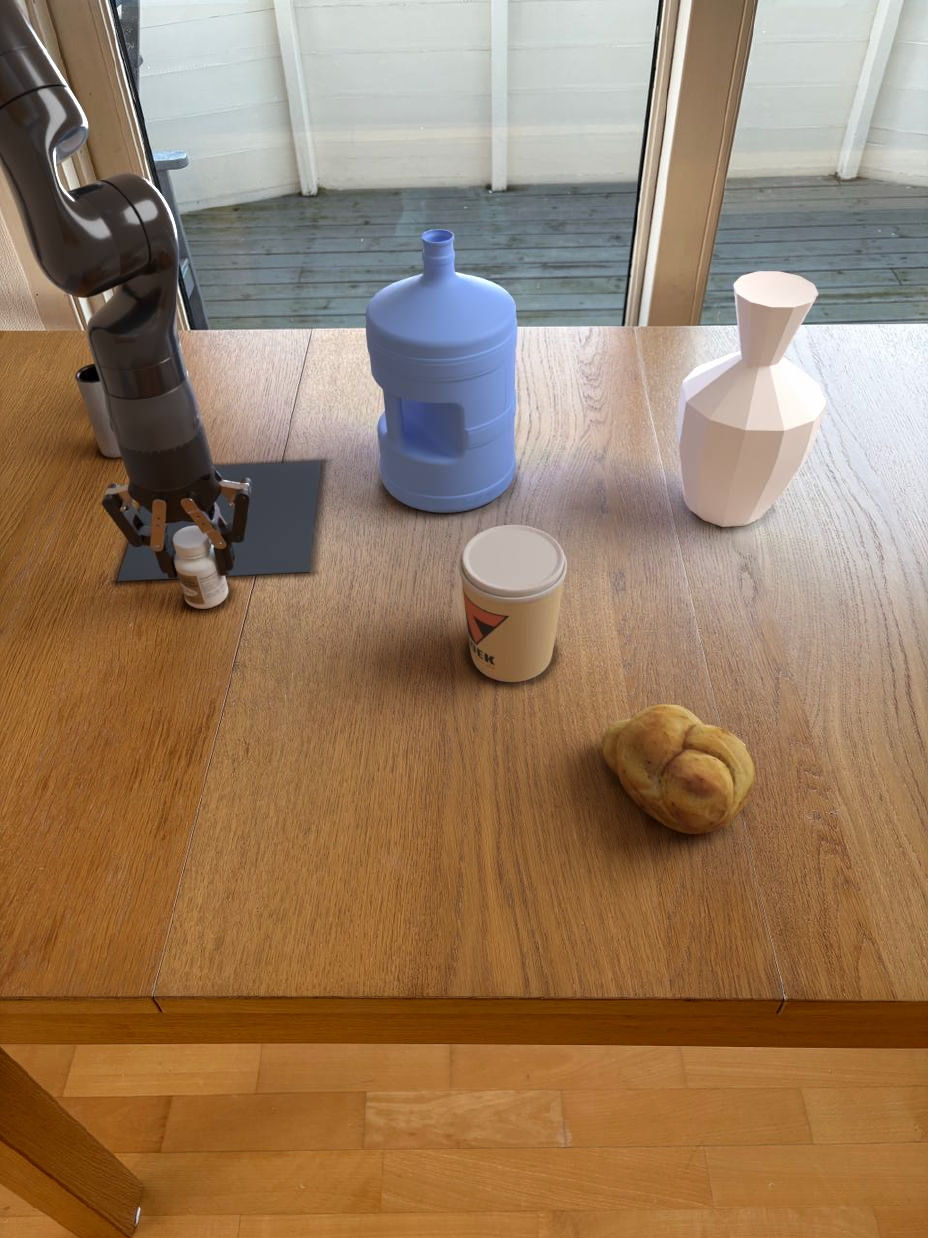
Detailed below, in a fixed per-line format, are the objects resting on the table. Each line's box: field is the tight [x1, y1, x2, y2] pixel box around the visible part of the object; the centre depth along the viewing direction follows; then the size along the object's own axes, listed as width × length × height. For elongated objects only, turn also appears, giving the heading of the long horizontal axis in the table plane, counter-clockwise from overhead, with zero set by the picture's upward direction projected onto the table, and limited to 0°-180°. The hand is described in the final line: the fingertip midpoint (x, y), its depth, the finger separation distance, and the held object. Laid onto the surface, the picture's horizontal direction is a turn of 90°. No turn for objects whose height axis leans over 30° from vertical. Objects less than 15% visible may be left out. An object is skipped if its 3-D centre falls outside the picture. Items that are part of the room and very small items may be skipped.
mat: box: [116, 460, 322, 583], centre depth 106 cm, size 20×20×1 cm
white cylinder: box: [74, 362, 122, 459], centre depth 113 cm, size 4×4×10 cm
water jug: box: [365, 228, 518, 514], centre depth 101 cm, size 16×16×28 cm
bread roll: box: [601, 703, 756, 835], centre depth 76 cm, size 13×10×8 cm
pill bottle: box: [173, 526, 229, 610], centre depth 94 cm, size 4×4×8 cm
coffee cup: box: [458, 524, 568, 683], centre depth 86 cm, size 9×9×12 cm
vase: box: [675, 270, 828, 528], centre depth 97 cm, size 14×14×25 cm
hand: (199, 570), depth 94 cm, fingers closed on pill bottle, 4 cm apart
